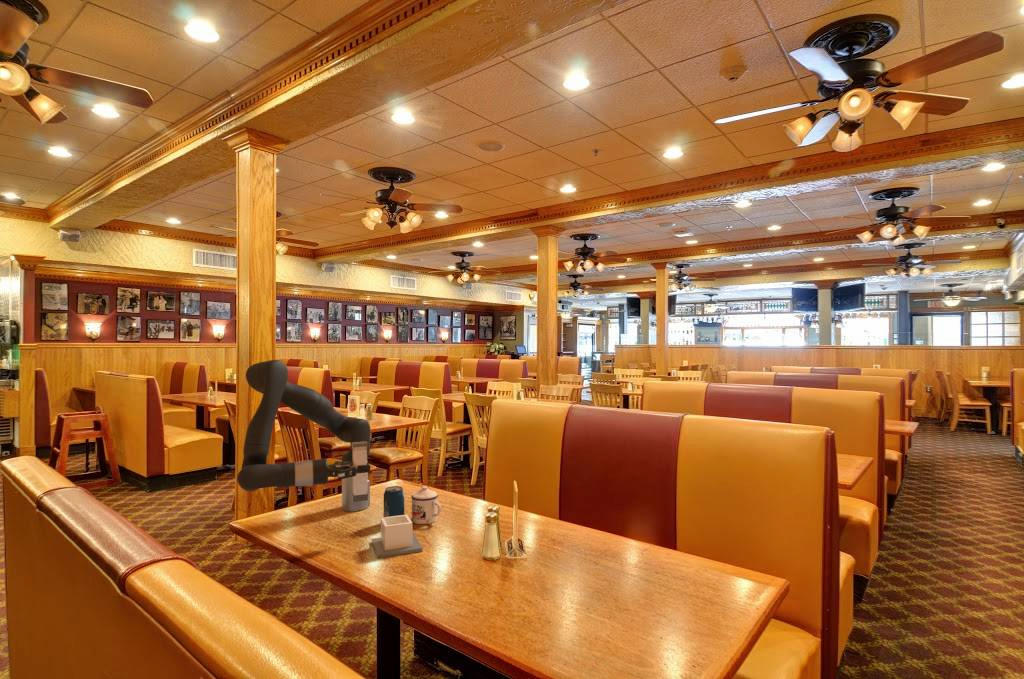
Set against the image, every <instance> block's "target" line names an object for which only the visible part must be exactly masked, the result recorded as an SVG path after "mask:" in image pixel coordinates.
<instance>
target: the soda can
mask: <svg viewBox="0 0 1024 679" xmlns="http://www.w3.org/2000/svg"><path fill="white" fill-rule="evenodd" d="M399 515H405V491H404V490H403V487H402V486H398V485H394V486H393V485H392V486H388V487H386V488H385V490H384V493H383V517H391V516H399Z"/></svg>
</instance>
